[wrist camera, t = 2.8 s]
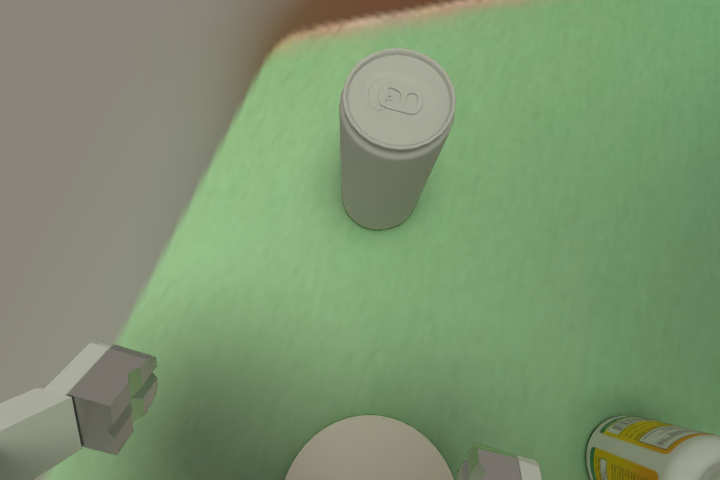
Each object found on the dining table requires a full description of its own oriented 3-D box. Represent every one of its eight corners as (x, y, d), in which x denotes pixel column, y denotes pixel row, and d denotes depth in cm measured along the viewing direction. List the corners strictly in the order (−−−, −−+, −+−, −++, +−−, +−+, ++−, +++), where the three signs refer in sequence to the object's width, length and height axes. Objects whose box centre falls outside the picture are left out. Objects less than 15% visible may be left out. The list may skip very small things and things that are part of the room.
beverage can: (353, 155, 30) (357, 32, 18) (422, 174, 30) (470, 61, 18) (333, 221, 29) (324, 134, 17) (405, 241, 29) (445, 166, 17)
